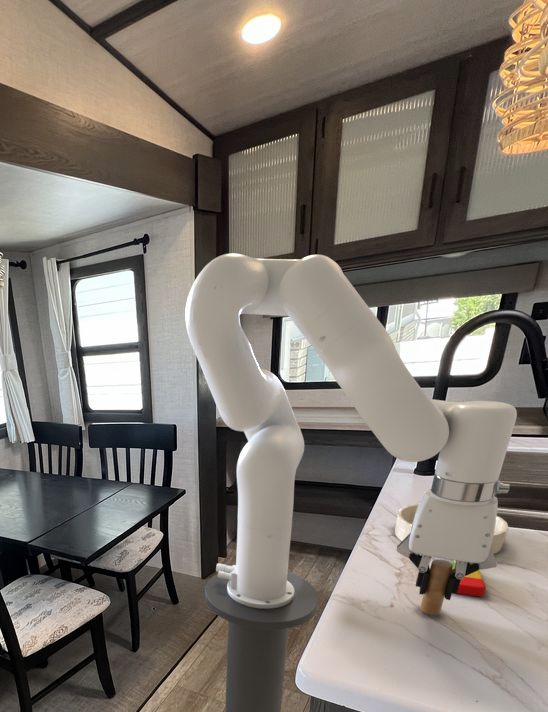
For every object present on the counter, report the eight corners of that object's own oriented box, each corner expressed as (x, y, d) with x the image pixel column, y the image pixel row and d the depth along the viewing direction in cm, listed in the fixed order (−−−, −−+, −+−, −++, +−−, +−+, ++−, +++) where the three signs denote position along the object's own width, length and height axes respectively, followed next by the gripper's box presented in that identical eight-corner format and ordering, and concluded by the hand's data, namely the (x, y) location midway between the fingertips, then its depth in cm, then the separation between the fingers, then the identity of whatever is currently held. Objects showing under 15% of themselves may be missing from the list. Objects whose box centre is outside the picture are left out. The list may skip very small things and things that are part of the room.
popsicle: (446, 592, 83) (448, 583, 83) (437, 556, 95) (439, 548, 95) (485, 598, 81) (488, 588, 80) (471, 560, 93) (473, 552, 92)
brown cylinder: (419, 612, 78) (431, 565, 74) (420, 604, 80) (432, 558, 76) (440, 617, 77) (453, 569, 73) (440, 608, 79) (453, 561, 75)
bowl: (391, 547, 100) (395, 528, 99) (397, 516, 115) (400, 499, 113) (506, 564, 90) (513, 543, 88) (497, 527, 105) (503, 509, 103)
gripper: (530, 486, 68) (495, 594, 76) (399, 474, 76) (379, 572, 84) (538, 503, 62) (499, 617, 70) (396, 488, 71) (375, 592, 78)
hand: (434, 592), depth 77 cm, fingers closed on brown cylinder, 2 cm apart
